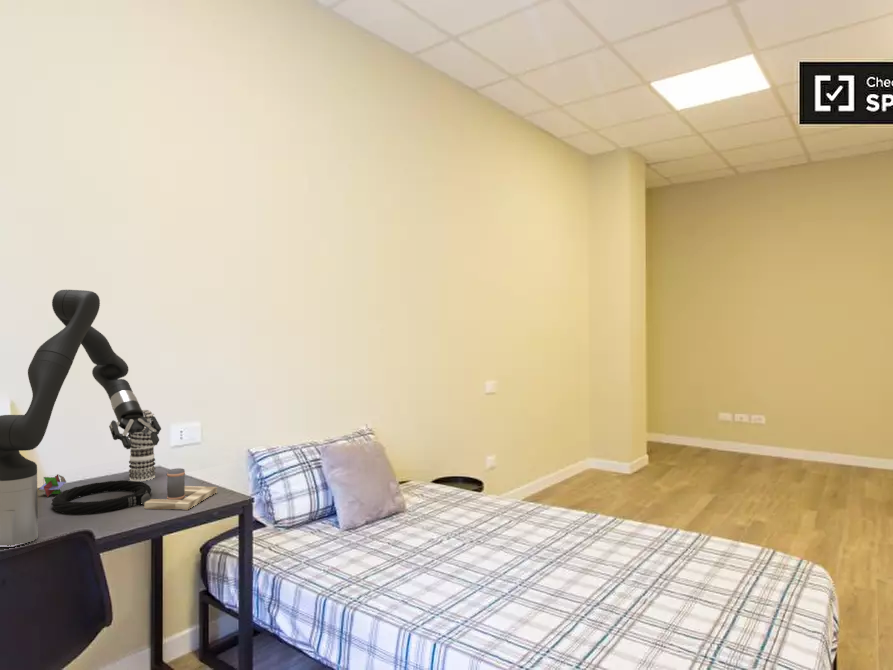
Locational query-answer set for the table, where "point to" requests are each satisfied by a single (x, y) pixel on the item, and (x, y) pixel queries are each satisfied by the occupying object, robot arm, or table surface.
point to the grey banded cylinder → (176, 484)
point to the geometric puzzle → (53, 485)
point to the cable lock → (137, 498)
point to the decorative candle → (141, 454)
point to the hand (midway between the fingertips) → (143, 445)
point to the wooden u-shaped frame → (194, 497)
